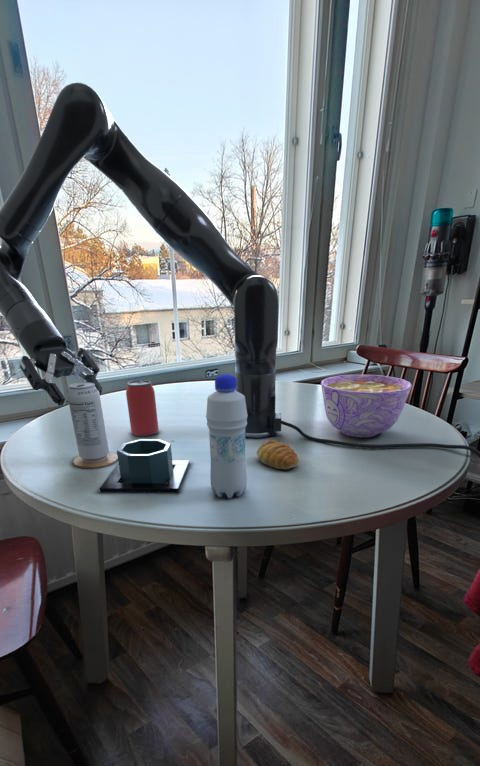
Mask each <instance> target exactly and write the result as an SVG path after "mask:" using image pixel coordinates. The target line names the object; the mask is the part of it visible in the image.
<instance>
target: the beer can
mask: <svg viewBox="0 0 480 766" xmlns="http://www.w3.org/2000/svg"><path fill="white" fill-rule="evenodd" d="M125 396H126V397H125V398H126V403H127V410H128V411H127V412H128V419H129V425H130V432H131V433H132V435H134V436H138V437H149V436H153V435H155V434H157V433H158V432H159V430H160V429H159V420H158V412H157V411H158V409H157V401H156V392H155V389H154V387H153V384H152V381H151V380H146V379H138V380H130V381H128V382H127V383H126V390H125Z"/></svg>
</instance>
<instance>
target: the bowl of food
mask: <svg viewBox="0 0 480 766" xmlns="http://www.w3.org/2000/svg"><path fill="white" fill-rule="evenodd" d="M320 386H321V392H322V399H323V406H324V411H325V416H326V419H327V421H328V422H329V424H330V425H331V426H332V427H333V428H335V429H337V430H338V431H341V432H342V433H343V434H344V435H345V436H348V437H353V438H372V437H373V438H374V437H376V436H377V435H378V434H381V433H384V432H386V431H388V430H390V429H392V427H393V426H394V425H395V424H396V423H397V422H398V420H399V418H400V417H401V414H402V412H403V410H404V407H405V404H406V402H407V399H408V397H409V395H410V393H411V389H412V387H413V385H412V383H411V382H410V381H408V380H406V379H403V378H399V377H394V376H389V375H388V376H387V375H381V374H379V375H378V374H341V375H335V376H330V377H326V378H324V379H322V380H321V382H320Z"/></svg>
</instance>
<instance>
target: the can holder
mask: <svg viewBox="0 0 480 766" xmlns="http://www.w3.org/2000/svg"><path fill="white" fill-rule="evenodd" d="M172 452H173V451H172V444H171V443H169V442H167V441H165V440H163V439H159V438H152V439H151V438H148V439H147V438H143V439H142V438H140V439H136V440H132V441H127V442H125V443H122V444H121V445H120V446H119V447H118V448H117V450H116V454H117V456H118V460H117V462H118V464H117V466H115V468H114V469H113V470H112V472H110V474H109V476H107V478H106V479H105V480H104V482H103V483H102V484H101V485H100V487H99V492H100V493H149V494H150V493H154V494H155V493H163V494H164V493H165V494H167V493H169V494H171V493H174V494H175V493H176V494H179V491H180V489H181V486H182V484H183V482H184V479H185V476H186V474H187V471H188V470H189V466H190V459H189V460H188V459H186V460H184V459H183V460H181V459H179V460H178V459H177V460H173V455H172V454H173V453H172Z"/></svg>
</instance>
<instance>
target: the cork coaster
mask: <svg viewBox="0 0 480 766" xmlns="http://www.w3.org/2000/svg"><path fill="white" fill-rule="evenodd" d="M116 462H118V456H117V453H115V452H111V451H109V454H108V455H107V459H105V460H103V461H100V462H94V463H89V462H84V461H83V459H82V458H81V457H80V456H79V455H78V456H76V457H75V458H74V459H73V465H74V466H75V467H77V468H81V469H98V468H104V467H108V466H111V465H113V464H115V463H116Z"/></svg>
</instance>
